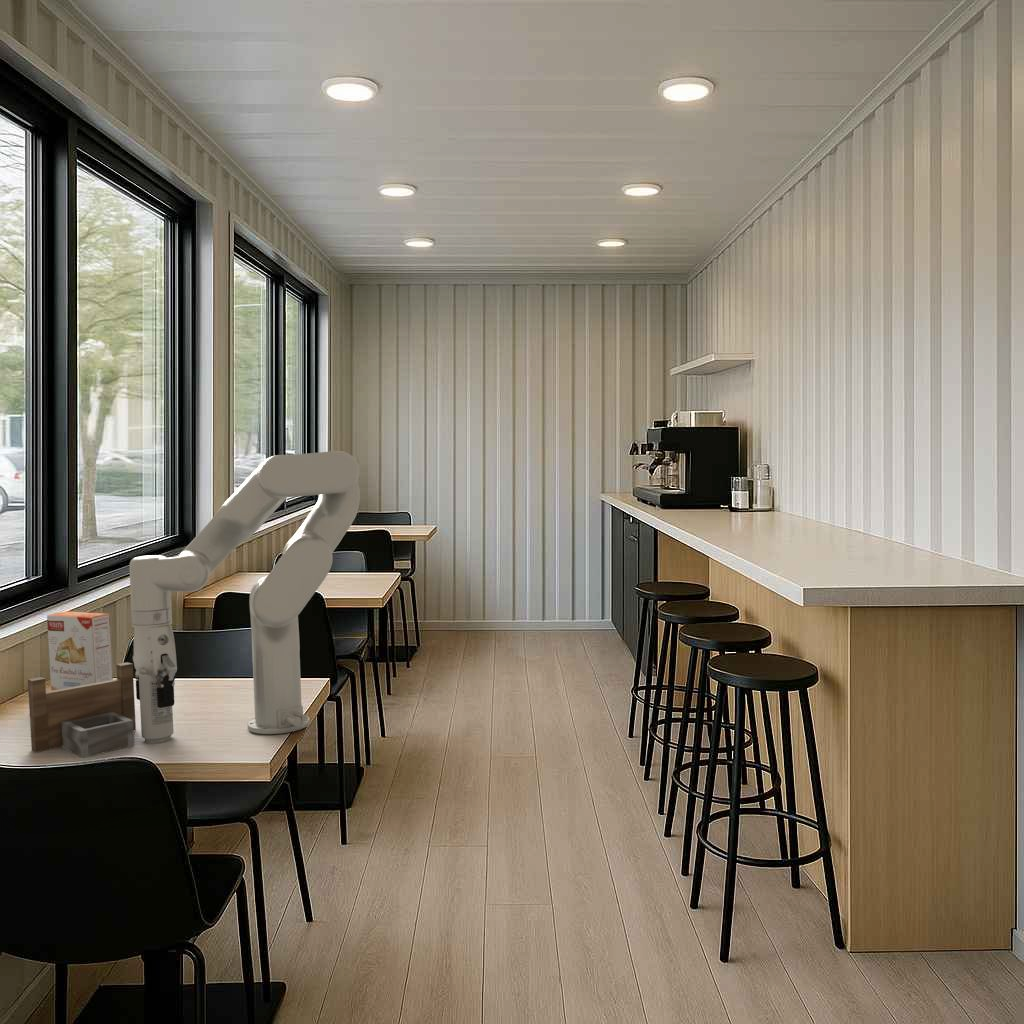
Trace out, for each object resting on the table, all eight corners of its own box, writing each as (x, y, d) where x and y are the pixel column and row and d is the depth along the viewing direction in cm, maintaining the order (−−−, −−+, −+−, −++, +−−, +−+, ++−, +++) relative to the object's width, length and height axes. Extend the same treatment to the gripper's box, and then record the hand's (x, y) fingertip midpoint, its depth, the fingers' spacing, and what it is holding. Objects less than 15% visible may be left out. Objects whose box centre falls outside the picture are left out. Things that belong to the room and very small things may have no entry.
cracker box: (50, 702, 224) (45, 614, 223) (70, 696, 230) (66, 610, 229) (95, 706, 219) (90, 616, 218) (115, 700, 225) (110, 612, 223)
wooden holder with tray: (158, 739, 191) (154, 670, 190) (55, 763, 177) (51, 689, 176) (131, 728, 200) (127, 662, 199) (31, 749, 186) (27, 679, 185)
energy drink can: (163, 733, 195) (160, 661, 194) (179, 738, 191) (176, 664, 191) (135, 740, 191) (132, 666, 190) (152, 745, 187) (148, 670, 186)
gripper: (189, 619, 186) (193, 706, 187) (151, 611, 198) (154, 692, 199) (152, 624, 181) (155, 713, 182) (115, 615, 193) (118, 699, 194)
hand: (155, 702), depth 191 cm, fingers open, 9 cm apart
